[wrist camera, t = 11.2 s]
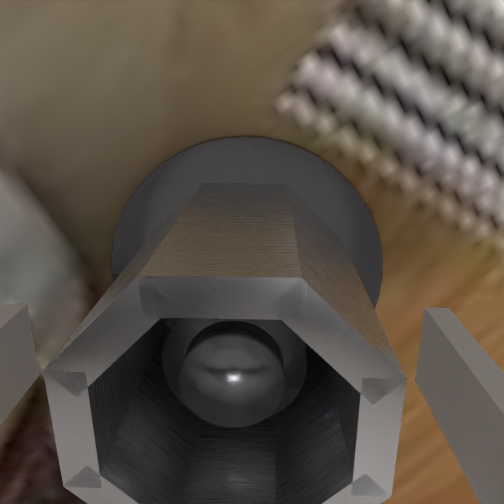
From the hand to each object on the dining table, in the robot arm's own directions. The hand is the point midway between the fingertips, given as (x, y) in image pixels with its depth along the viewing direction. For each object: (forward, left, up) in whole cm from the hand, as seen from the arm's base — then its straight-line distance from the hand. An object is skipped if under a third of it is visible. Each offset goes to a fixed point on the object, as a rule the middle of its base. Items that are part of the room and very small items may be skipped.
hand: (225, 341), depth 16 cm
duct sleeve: (0, 0, -5) cm, 6 cm away
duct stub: (0, 0, -6) cm, 6 cm away
